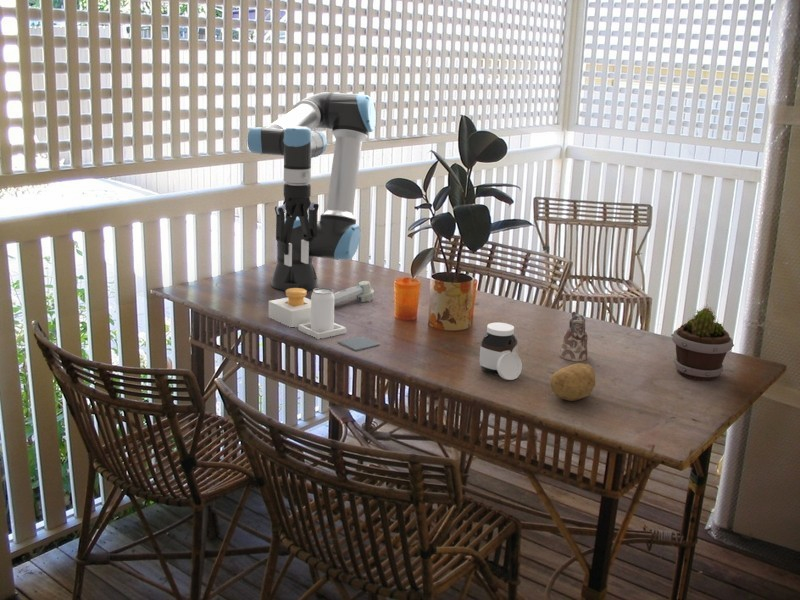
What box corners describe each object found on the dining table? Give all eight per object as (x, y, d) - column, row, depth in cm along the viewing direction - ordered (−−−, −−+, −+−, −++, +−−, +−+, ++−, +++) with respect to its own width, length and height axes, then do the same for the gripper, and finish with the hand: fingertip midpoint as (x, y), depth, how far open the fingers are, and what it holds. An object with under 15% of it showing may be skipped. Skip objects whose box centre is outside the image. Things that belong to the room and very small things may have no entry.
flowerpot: (674, 359, 238) (684, 288, 232) (733, 372, 230) (745, 299, 225) (660, 375, 226) (670, 301, 220) (721, 389, 218) (734, 312, 213)
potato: (603, 394, 212) (607, 363, 210) (578, 412, 201) (581, 379, 199) (566, 384, 217) (570, 353, 215) (540, 400, 206) (543, 369, 204)
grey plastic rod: (305, 299, 264) (365, 275, 280) (307, 319, 266) (366, 294, 283) (316, 303, 260) (376, 278, 277) (318, 323, 263) (377, 298, 279)
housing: (299, 311, 264) (299, 295, 263) (348, 332, 247) (348, 315, 246) (268, 317, 257) (268, 300, 256) (316, 339, 240) (316, 322, 239)
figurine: (564, 361, 233) (569, 318, 229) (556, 352, 239) (560, 310, 236) (590, 360, 234) (595, 318, 230) (581, 351, 241) (585, 309, 237)
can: (307, 333, 245) (307, 292, 242) (315, 326, 251) (316, 286, 248) (329, 336, 244) (329, 294, 240) (336, 329, 250) (337, 288, 246)
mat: (361, 337, 244) (361, 335, 244) (379, 345, 238) (379, 344, 238) (337, 342, 239) (337, 341, 239) (356, 351, 233) (356, 349, 233)
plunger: (298, 311, 260) (298, 286, 258) (310, 317, 256) (310, 291, 254) (281, 315, 257) (281, 289, 254) (293, 320, 252) (293, 294, 250)
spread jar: (493, 361, 231) (497, 318, 227) (532, 371, 225) (536, 328, 221) (470, 373, 221) (473, 329, 218) (510, 385, 215) (513, 340, 212)
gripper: (277, 187, 237) (277, 271, 243) (331, 182, 248) (329, 262, 255) (262, 183, 242) (262, 265, 249) (315, 178, 254) (314, 257, 260)
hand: (296, 263), depth 252 cm, fingers open, 5 cm apart
